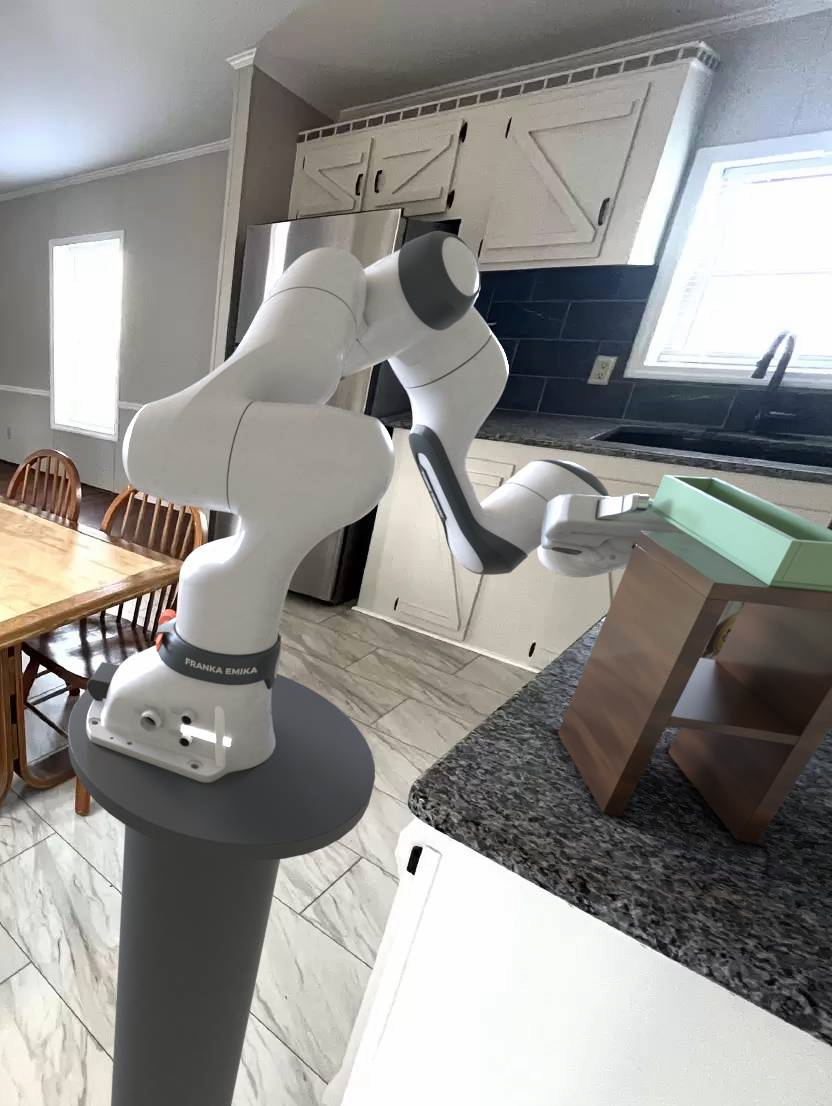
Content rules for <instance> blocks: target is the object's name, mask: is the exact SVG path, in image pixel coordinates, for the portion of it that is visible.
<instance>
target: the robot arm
mask: <svg viewBox="0 0 832 1106" xmlns="http://www.w3.org/2000/svg"><path fill="white" fill-rule="evenodd" d="M480 275H481V273H480V270H479V267H478V263H477V260H476V258H475V256H474V253H473V252H472V250H471V249H470V247H469V246H468V245H467V244H466V242H465V241H464V240H463V239H462V238H461V237H460V236H458V235H456V234H455V233H451V232H446V231H443V230H434V231H431V232H428V233H425V234H422V235H421V236H417V237H415V238H413V239H412V240H409V241H407V242H405V243H404V244H403V245H402V246H401V248H400V249H398V250H396V251H394V252H392V253H390V254H388V255H386V256H384V257H382V258H380V259H379V260H376V261H375V262H373V263H372V264H370V265H368V266H366V267H365V268H364V266H363V265H362V263H361V262H360V260H359V259H358V258H357V257H356V256H355V255H354V254H352V253H351V252H350V251H347V250H345V249H342V248H340V247H334V246H333V247H332V246H325V247H319V248H314V249H312V250H310V251H307V252H305V253H303V254H302V255H300V256H299V257H298V258H297V259H295V260H294V261H293V262H292V263H291V264H290V265H289V266H288V267H287V268H286V269H285V271H284V272H282V274H281V275H280V276H279V278H277V280H276V281H275V283H274V284H273V286H272V287H271V289H270V290H269V291H268V293H267V295H266V296H265V298H264V299H263V300H262V303H261V304H260V306H259V308H258V310H257V312H256V314H255V316H254V317H253V319H252V322H251V324H250V326H249V328H248V329H247V331H246V332H245V335H244V337H243V338H242V339H241V341H240V343H239V344H238V346H237V348H236V349H235V350H234V352H233V353H232V354H231V356H229V357H228V358H227V359H226V360H225V361H224V362H223V363H222V364H220V365H219V366H218V367H216V368H215V369H214V370H213V371H211V372H210V373H208V374H207V375H205V376H204V377H202V378H201V379H199V380H198V381H197V382H195V383H193V384H192V385H190V386H189V387H186V388H185V389H183V390H181V391H178V392H176V393H174V394H171V395H169V396H167V397H164V398H161V399H158V400H155V401H151V402H148V403H146V404H145V405H144V406H143V407H142V408H141V409H140V410H139V411H138V412H136V414H135V415H134V417H133V418H132V420H131V421H130V423H129V425H128V426H127V429H126V431H125V435H124V438H123V442H122V448H121V449H122V452H121V453H122V454H121V455H122V464H123V468H124V471H125V474H126V477H127V479H128V481H129V483H130V484H131V486H132V487H133V488H134V489H135V490H136V491H138V492H140V493H143V494H145V495H148V496H151V497H152V498H156V499H158V500H161V501H163V502H166V503H169V504H172V505H177V506H183V507H184V506H185V507H190V508H196V509H202V510H203V509H204V510H210V511H217V512H222V513H228V514H229V513H230V514H233V515H236V516H238V517H240V528H239V532H238V533H236V534H234V535H231V536H227V537H223V538H219V539H216V540H213V541H210V542H207V543H205V544H203V545H201V546H199V547H197V548H195V549H194V550H193V551H192V552H191V553H189V555H188V556H187V557H186V558H185V559H184V561H183V564H182V565H181V567H180V571H179V579H178V590H177V603H176V611H175V610H173V609H169V608H167V609H164V610H163V611H162V612H161V614H160V617H159V619H158V625H159V626H158V628H157V632H156V638H155V644H154V645H152V646H151V647H149V648H147V649H145V650H142V651H140V652H138V653H135V654H133V655H130V656H129V657H126V659H125V660H124V661H123V662H122V663H121V664H120V665H118V664H114V663H109V662H104V661H102V662H101V663H100V664H99V665H98V667H97V669H96V670H95V671H94V673H93V675H92V676H91V677H90V678H89V679H88V681H87V684H86V686H87V689H88V691H89V693H90V696H92V697H93V698H94V700H93V702H92V704H91V706H90V708H89V711H88V715H87V722H86V731H87V735H88V737H89V739H90V741H92V742H93V743H96V744H98V745H101V746H103V747H106V748H109V749H112V750H114V751H117V752H120V753H123V754H125V755H128V756H131V757H134V758H136V759H139V760H142V761H145V762H147V763H150V764H153V765H156V766H158V767H161V768H164V769H167V770H169V771H172V772H175V773H178V774H180V775H183V776H186V777H189V778H191V779H194V780H197V781H200V782H204V783H209V782H213V781H215V780H217V779H219V778H221V777H222V776H224V775H225V774H227V773H230V772H234V771H240V770H245V769H249V768H252V767H255V766H257V765H259V764H261V763H263V762H264V761H266V760H267V759H268V758H269V757H270V756H271V755H272V753H273V751H274V749H275V745H276V739H275V734H274V730H273V722H272V708H271V695H272V686H273V684H274V681H275V679H276V677H277V674H278V672H279V666H280V661H281V654H282V646H281V645H282V635H281V634H280V632H279V630H280V625H281V620H282V616H283V611H284V607H285V602H286V598H287V595H288V590H289V588H290V583H291V581H292V578H293V576H294V574H295V572H296V570H297V568H298V567H299V565H300V563H301V562H302V561H303V559H304V558H305V557H306V556H307V555H308V553H310V551H311V550H312V549H313V548H314V547H315V546H317V544H319V543H320V542H321V541H323V540H324V539H325V538H327V537H328V536H330V535H331V534H333V533H335V532H337V531H339V530H340V529H342V528H345V527H347V526H349V525H352V524H354V523H356V522H357V521H359V520H361V519H362V518H363V517H365V516H366V515H368V514H369V513H370V512H371V511H373V509H375V507H376V506H377V505H378V504H379V503H380V502H381V500H382V499H383V498H384V496H385V494H386V493H387V490H388V489H389V487H390V486H391V485H390V484H391V482H392V479H393V476H394V472H395V463H396V462H395V461H396V459H395V457H396V456H395V448H394V445H393V440H392V438H391V436H390V433H389V432H388V430H387V428H386V427H385V425H384V423H382V421H381V420H380V419H379V418H377V417H375V416H371V415H367V414H364V413H360V412H356V411H353V410H348V409H346V408H345V409H344V408H341V407H336V406H333V405H328V404H326V403H327V402H329V400H330V399H331V397H332V396H333V395H334V394H335V392H336V391H337V389H338V386H339V384H340V382H341V381H344V380H345V379H347V378H348V377H349V376H351V375H354V374H356V373H359V372H362V371H364V370H366V369H367V370H368V369H369V368H371V367H373V366H376V365H378V364H380V363H382V362H384V361H386V360H387V361H388V363H389V365H390V367H391V369H392V371H393V372H394V375H395V376H396V378H397V379H398V381H399V383H400V384H401V385H402V387H403V388H404V390H405V391H406V394H407V396H408V398H409V401H410V405H411V412H412V426H411V429H410V433H409V435H408V444H409V448H410V451H411V454H412V457H413V459H414V463H415V464H416V467H417V470H418V472H419V474H420V477H421V478H422V481H423V483H424V485H425V487H426V490H427V492H428V494H429V497H430V499H431V502H432V503H433V505H434V507H435V510H436V512H437V515H438V517H439V519H440V521H441V522H440V523H441V524H442V527H443V532H444V535H445V540H446V544H447V547H448V549H449V550H450V553H451V555H452V556H453V557H454V559H455V560H456V561H457V562H458V563H459V564H460V565H461V566H462V567H464V568H465V569H466V570H467V571H469V572H471V573H474V574H475V575H481V576H482V575H483V576H484V575H485V576H494V575H495V576H496V575H497V576H498V575H504V574H505V575H506V574H510V573H512V572H513V571H514V570H515V569H516V568H517V567H518V566H520V565H521V564H522V563H523V562H524V561H525V560H526V559H527V558H529V555H530V554H532V553H533V552H534V551H535V550H537V557H538V560H539V562H540V564H541V565H542V566H543V567H544V568H546V569H547V570H548V571H550V572H551V573H554V574H557V575H559V576H563V577H566V578H567V577H568V578H577V579H579V578H580V579H581V578H590V577H597V576H600V575H606V574H609V573H612V572H614V571H618V570H625V569H626V567H627V564H628V562H629V559H630V557H631V554H632V552H633V550H634V547H635V545H636V542H637V540H638V537H639V535H640V533H641V531H652V532H665V533H678V534H687V533H686V532H684V531H682V530H681V529H679V528H678V527H676V526H675V525H673V524H671V523H670V522H668V521H667V520H665V519H664V518H662V517H660V516H659V515H657V514H656V513H654V512H653V511H651V510H650V508H651V506H652V503H653V501H654V499H653V498H651V497H650V495H648V494H640V493H639V494H638V493H630V494H625V495H620V496H610V493H609V491H608V489H607V487H605V485H604V484H603V483H602V482H601V481H600V479H599V478H598V477H596V476H595V475H594V474H593V473H592V472H590V471H589V470H587V469H586V468H585V467H583V466H581V465H579V464H577V463H575V462H571V461H566V460H560V459H549V458H547V459H536V460H532V461H529V462H528V464H526V465H525V466H523V467H522V468H521V469H520V470H519V471H517V472H516V473H515V474H513V475H512V476H511V477H510V478H509V479H508V480H506V481H505V482H503V484H501V486H500V487H498V488H497V489H496V490H494V491H493V492H491V494H490V495H488V496H486V498H484V499H483V500H482V501H480V500H479V498H478V495H477V493H476V490H475V488H474V486H473V482H472V481H471V478H470V477H469V474H468V471H467V466H466V465H467V457H468V453H469V450H470V448H471V445H472V443H473V441H474V439H475V438H476V436H477V434H478V432H479V431H480V428H481V427H482V425H483V424H484V423H485V421H486V419H487V418H488V417H489V415H490V413H491V412H492V411H493V410H494V408H495V407H496V405H497V404H498V402H499V401H500V399H501V397H502V395H503V394H504V393H503V392H504V390H505V388H506V385H507V382H508V378H509V364H508V360H507V359H508V358H507V356H506V353H505V351H504V349H503V347H502V345H501V344H500V341H499V340H498V338H497V337H496V335H495V333H494V332H493V331H492V330H491V328H490V327H489V325H488V324H487V322H486V321H485V319H484V317H483V316H482V315H481V314H480V312H479V311H478V310H477V309H476V307H475V306H474V305H475V303H476V300H477V298H478V297H479V293H480V290H481V276H480Z"/></svg>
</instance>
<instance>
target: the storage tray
mask: <svg viewBox="0 0 832 1106" xmlns="http://www.w3.org/2000/svg"><path fill="white" fill-rule="evenodd" d="M650 510H651V511H653V512H654V513H656V514H657V515H659V516H660V517H662V518H664V519H665V520H667V521H668V522H670V523H671V524H673V525H675V526H676V527H678V528H679V529H681V530H682V531H684V532H686V533H687V534H689V535H690V536H692V537H693V538H695V539H697V540H698V541H700V542H701V543H703V544H704V545H706V546H708V547H709V548H711V549H712V550H714V551H715V552H717V553H719V554H720V555H722V556H723V557H725V558H726V559H728V560H730V561H731V562H733V563H734V564H736V565H737V566H739V567H741V568H742V569H744V570H745V571H747V572H748V573H750V574H752V575H753V576H755V577H756V578H758V579H759V580H761V581H763V582H764V583H766V584H767V585H769V586H778V587H788V588H799V589H809V590H819V591H830V592H832V529H830V528H827V527H825V526H823V525H821V524H819V523H816V522H815V521H812V520H810V519H808V518H805V517H804V516H802V515H799V514H797V513H795V512H793V511H790V510H788V509H786V508H784V507H781V506H780V505H777V504H775V503H772V502H771V501H768V500H766V499H764V498H761V497H759V496H757V495H755V494H753V493H750V492H748V491H746V490H744V489H742V488H740V487H737V486H735V485H732V484H731V483H729V482H727V481H724V480H723V479H720V478H718V477H708V476H707V477H705V476H689V475H687V476H686V475H671V474H664V475H663V477H662V480H661V481H660V484H659V487H658V489H657V491H656V493H655V496H654V501H653V503H652V506H651V508H650Z"/></svg>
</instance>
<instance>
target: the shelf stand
mask: <svg viewBox="0 0 832 1106" xmlns="http://www.w3.org/2000/svg"><path fill="white" fill-rule="evenodd" d="M728 601H738V602H745V603H744V605H743V607H742V609H741V611H740V613H739V615H738V617H737V619H736V621H735V623H734V625H733V627H732V629H731V631H730V633H729V634H728V636H727V638H726V640H725V642H724V644H723V646H722V648H721V650H720V652H719V654H718V656H717V658H716V660H713V659H706V658H700V657H701V655H702V653H703V651H704V649H705V647H706V645H707V643H708V641H709V639H710V637H711V635H712V633H713V631H714V629H715V627H716V625H717V623H718V621H719V619H720V617H721V615H722V613H723V611H724V609H725V607H726V605H727V603H728ZM667 726H672V727H673V726H674V727H677V728H679V730H678V732H677V734H676V736H675V738H674V740H673V742H672V744H671V745H670V747H669V750H668V752H667V753H668V755H670V757H671V758H672V760H673V761H674V762H675V764H677V766H678V767H679V768H680V770H681V771H682V773H684V775H685V776H686V778H687V779H688V780H689V781H690V782H691V784H692V785H693V786H694V788H695V789H696V790H697V791H698V793H699V794H700V795H701V797H702V798H703V799H704V801H706V803H707V804H708V805H709V807H710V808H711V809H712V811H713V812H714V814H716V816H717V817H718V818H719V819H720V821H721V822H722V823H723V825H724V826H725V827H726V828H727V831H729V832H730V833H731V835H732V836H733V837H734V838H735V840H736V841H739V842H745V843H750V844H757V843H758V842H759V841H760V839H761V838H762V836H763V834H764V833H765V831H766V829H768V826H769V825H770V823H771V822H772V820H773V819H774V817H775V815H776V814H777V813H778V811H779V810H780V808H781V806H782V805H783V803H784V801H785V800H786V799H787V797H788V795H789V794H790V792H791V791H792V789H793V787H794V785H796V783H797V781H798V780H799V778H800V776H801V775H802V774H803V772H804V770H805V769H806V767H807V765H808V764H809V762H810V761H811V759H812V758H813V756H814V754H815V753H816V752H817V750H818V748H819V747H820V746H821V744H822V742H823V741H824V739H825V737H826V736H827V735H828V734H829V733H828V732H829V731H830V730H831V728H832V592H830V591H819V590H809V589H799V588H788V587H778V586H769V585H767V584H766V583H764V582H763V581H761V580H759V579H758V578H756V577H755V576H753V575H752V574H750V573H748V572H747V571H745V570H744V569H742V568H741V567H739V566H737V565H736V564H734V563H733V562H731V561H730V560H728V559H726V558H725V557H723V556H722V555H720V554H719V553H717V552H715V551H714V550H712V549H711V548H709V547H708V546H706V545H704V544H703V543H701V542H700V541H698V540H697V539H695V538H693V537H692V536H690V535H689V534H678V533H665V532H652V531H641V533H640V535H639V537H638V540H637V542H636V545H635V547H634V550H633V552H632V554H631V557H630V559H629V562H628V564H627V567H626V568H624V571H623V574H622V576H621V579H620V581H619V584H618V586H617V588H616V590H615V593H614V595H613V598H612V601H611V603H610V606H609V608H608V611H607V612H606V615H605V618H604V620H603V622H602V624H601V627H600V630H599V633H598V635H597V637H596V639H595V642H594V644H593V647H592V649H591V652H590V654H589V657H588V659H587V661H586V664H585V667H584V669H583V671H582V673H581V675H580V679H579V681H578V684H577V686H576V688H575V690H574V692H573V696H572V698H571V700H570V703H569V705H568V707H567V710H566V712H565V715H564V718H563V720H562V722H561V725H560V727H559V729H558V732H557V735H558V737H559V738H560V741H561V742H562V744H563V746H564V747H565V749H566V751H567V752H568V754H569V756H570V758H571V759H572V762H573V763H574V765H575V767H576V769H577V770H578V772H579V774H580V775H581V777H582V779H583V782H584V783H585V784H586V786H587V788H588V790H589V792H590V793H591V794H592V796H593V799H594V800H595V802H596V804H597V805H598V807H599V809H600V811H601V813H602V814H605V815H610V816H615V817H622V815H623V813H624V811H625V809H626V807H627V805H628V803H629V801H630V800H631V797H632V796H633V793H634V791H635V789H636V787H637V785H638V783H639V781H640V779H641V777H642V775H643V774H644V771H645V769H646V767H647V766H648V763H649V761H650V759H651V757H652V755H653V753H654V751H655V749H656V747H657V745H658V744H659V741H660V739H661V737H662V735H663V733H664V731H665V729H666V727H667Z"/></svg>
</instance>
